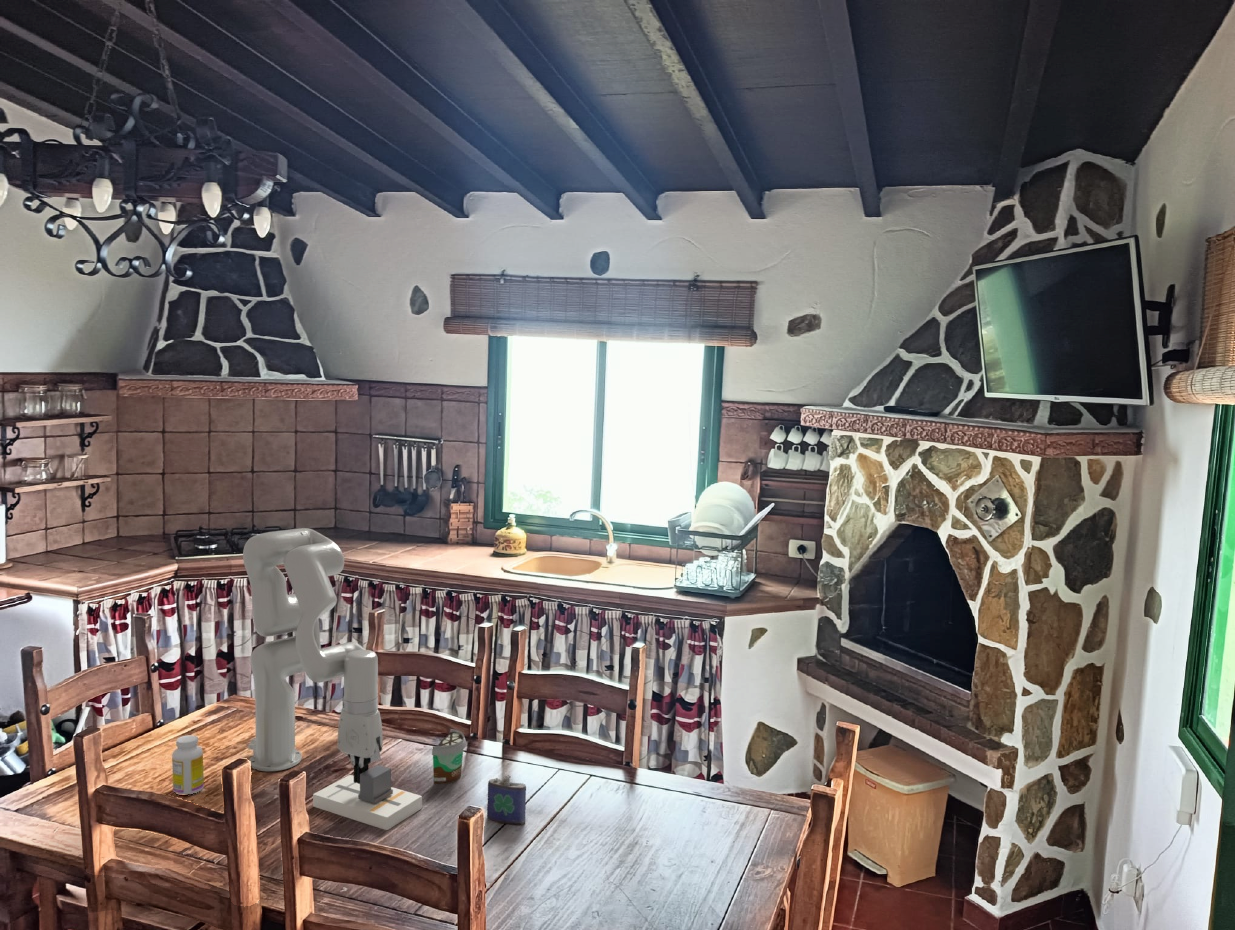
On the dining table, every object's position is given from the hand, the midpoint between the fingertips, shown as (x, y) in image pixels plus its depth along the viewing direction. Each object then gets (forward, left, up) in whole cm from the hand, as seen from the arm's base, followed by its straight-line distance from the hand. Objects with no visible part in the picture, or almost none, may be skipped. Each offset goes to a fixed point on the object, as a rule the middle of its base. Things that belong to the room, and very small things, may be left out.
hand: (361, 780), depth 217 cm
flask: (+33, +11, -6) cm, 35 cm away
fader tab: (+4, 0, -3) cm, 5 cm away
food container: (+9, +23, -6) cm, 26 cm away
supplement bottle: (-40, -15, -6) cm, 43 cm away
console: (+2, 0, -6) cm, 6 cm away
